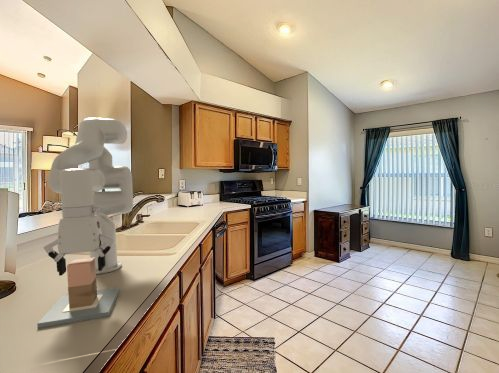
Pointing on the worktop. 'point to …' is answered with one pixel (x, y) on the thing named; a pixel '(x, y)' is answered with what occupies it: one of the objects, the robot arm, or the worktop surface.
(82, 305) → the walnut block
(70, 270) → the terracotta block
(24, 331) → the worktop surface
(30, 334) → the worktop surface
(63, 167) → the robot arm
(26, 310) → the worktop surface
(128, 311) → the worktop surface
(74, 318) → the baseplate
